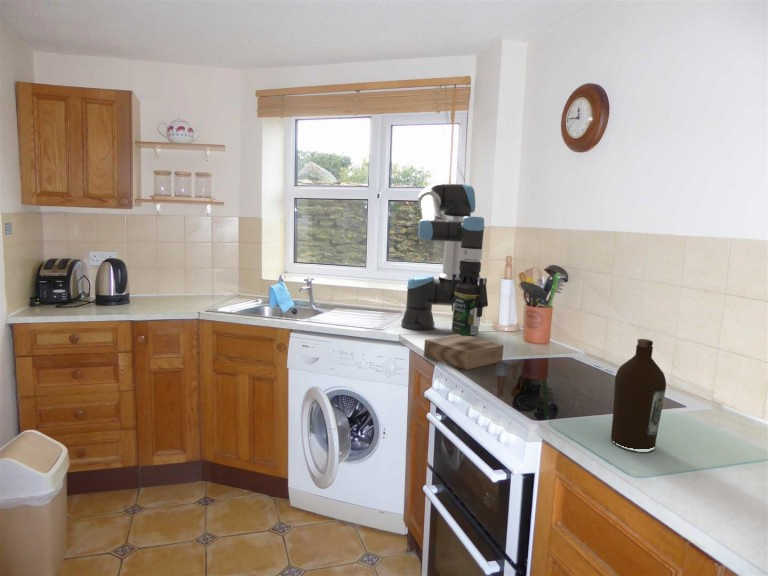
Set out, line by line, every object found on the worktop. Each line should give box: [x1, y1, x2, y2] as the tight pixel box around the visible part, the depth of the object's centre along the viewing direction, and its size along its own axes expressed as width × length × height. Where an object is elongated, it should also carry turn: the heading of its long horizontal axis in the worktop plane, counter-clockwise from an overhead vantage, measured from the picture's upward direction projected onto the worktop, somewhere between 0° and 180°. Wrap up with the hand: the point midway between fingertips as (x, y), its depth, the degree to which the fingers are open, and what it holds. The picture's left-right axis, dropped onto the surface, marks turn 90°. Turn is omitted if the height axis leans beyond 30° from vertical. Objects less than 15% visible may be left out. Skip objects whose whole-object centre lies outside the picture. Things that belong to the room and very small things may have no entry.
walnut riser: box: [423, 333, 504, 371], centre depth 191 cm, size 20×20×6 cm
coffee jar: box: [451, 282, 480, 337], centre depth 189 cm, size 10×8×19 cm
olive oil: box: [610, 338, 667, 449], centre depth 123 cm, size 11×11×25 cm
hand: (465, 323), depth 190 cm, fingers closed on coffee jar, 9 cm apart
